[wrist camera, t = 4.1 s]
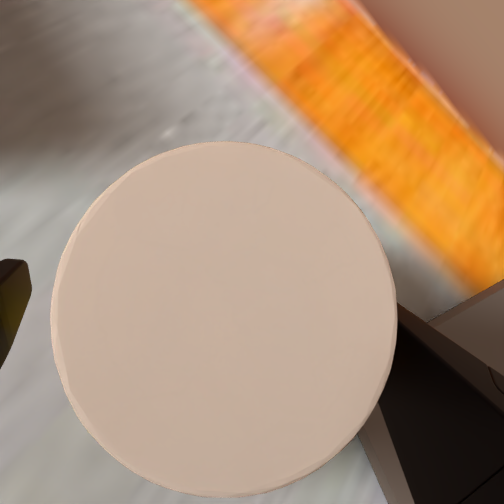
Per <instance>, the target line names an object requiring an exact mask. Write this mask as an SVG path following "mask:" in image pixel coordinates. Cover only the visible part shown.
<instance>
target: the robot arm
mask: <svg viewBox="0 0 504 504" xmlns="http://www.w3.org/2000/svg"><path fill="white" fill-rule="evenodd" d="M31 292H32V285H31V280H30V274H29V269H28V264H27V262H26V261H24V260H19V259H4V260H2V261H0V369H1V367H2V365H3V363H4V361H5V359H6V357H7V355H8V353H9V351H10V349H11V346H12V344H13V342H14V339H15V336H16V334H17V331H18V328H19V326H20V323H21V320H22V318H23V315H24V312H25V310H26V307H27V304H28V302H29V299H30V296H31ZM377 402H378V404H379V407H380V410H381V413H382V415H383V418H384V421H385V424H386V426H387V429H388V432H389V435H390V438H391V440H392V443H393V446H394V449H395V451H396V454H397V457H398V460H399V462H400V465H401V468H402V471H403V473H404V476H405V479H406V482H407V485H408V487H409V490H410V493H411V496H412V498H413V501H414V504H504V376H503V375H502V374H500V373H499V372H497V371H496V370H494V369H493V368H491V367H490V366H487V364H486V363H484V362H483V361H481V360H480V359H478V358H477V357H475V356H474V355H472V354H471V353H469V352H468V351H467V350H465V349H464V348H462V347H461V346H459V345H458V344H456V343H455V342H453V341H452V340H451V339H449V338H448V337H446V336H445V335H443V334H442V333H440V332H439V331H437V330H436V329H435V328H433V327H432V326H430V325H429V324H427V323H426V322H424V321H423V320H421V319H420V318H419V317H417V316H416V315H414V314H413V313H411V312H410V311H408V310H407V309H405V308H404V307H402V306H401V305H400V304H398V303H397V337H396V346H395V351H394V356H393V361H392V366H391V370H390V373H389V376H388V379H387V381H386V384H385V387H384V389H383V391H382V393H381V395H380V397H379V399H378V401H377Z"/></svg>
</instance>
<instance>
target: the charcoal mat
mask: <svg viewBox="0 0 504 504" xmlns="http://www.w3.org/2000/svg"><path fill="white" fill-rule="evenodd" d="M427 324H429V325H430V326H432V327H433V328H435V329H436V330H437V331H439V332H440V333H442V334H443V335H445V336H446V337H448V338H449V339H451V340H452V341H453V342H455V343H456V344H458V345H459V346H461V347H462V348H464V349H465V350H467V351H468V352H469V353H471V354H472V355H474V356H475V357H477V358H478V359H480V360H481V361H483V362H484V363H486V364H487V366H490V367H491V368H493V369H494V370H496V371H497V372H499V373H500V374H502V375H503V376H504V279H503V280H502V281H500V282H498V283H496V284H495V285H493V286H491V287H489V288H488V289H486V290H484V291H482V292H481V293H479V294H477V295H475V296H473V297H472V298H470V299H468V300H466V301H465V302H463V303H461V304H459V305H458V306H456V307H454V308H452V309H451V310H449V311H447V312H445V313H444V314H442V315H440V316H438V317H437V318H435V319H433V320H431V321H429V322H428V323H427ZM357 434H358V436H359V439H360V441H361V443H362V445H363V448H364V450H365V452H366V454H367V457H368V459H369V461H370V463H371V466H372V468H373V470H374V472H375V475H376V477H377V479H378V482H379V484H380V486H381V488H382V491H383V493H384V495H385V497H386V500H387V502H388V504H414V501H413V498H412V496H411V493H410V490H409V487H408V485H407V482H406V479H405V476H404V473H403V471H402V468H401V465H400V462H399V460H398V457H397V454H396V451H395V449H394V446H393V443H392V440H391V438H390V435H389V432H388V429H387V426H386V424H385V421H384V418H383V415H382V413H381V410H380V407H379V404H378V402H377V403H376V405H375V407H374V409H373V411H372V412H371V414H370V416H369V417H368V419H367V420H366V422H365V423H364V425H363V426H362V427H361V429H360V430H359V431H358V433H357Z"/></svg>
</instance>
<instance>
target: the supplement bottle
mask: <svg viewBox="0 0 504 504" xmlns="http://www.w3.org/2000/svg"><path fill="white" fill-rule="evenodd" d="M50 322H51V340H52V346H53V352H54V359H55V364H56V367H57V370H58V373H59V375H60V378H61V381H62V384H63V387H64V390H65V393H66V395H67V397H68V399H69V401H70V403H71V405H72V407H73V409H74V411H75V413H76V415H77V417H78V419H79V420H80V421H81V423H82V424H83V425H84V427H85V428H86V429H87V431H88V432H89V433H90V434H91V435H92V436H93V438H94V439H95V440H96V441H97V442H98V443H99V444H100V445H101V446H102V447H103V448H104V449H105V450H106V451H107V452H108V453H109V454H110V455H111V456H113V457H114V458H115V459H116V460H118V461H119V462H120V463H121V464H123V465H124V466H125V467H126V468H128V469H129V470H130V471H132V472H134V473H136V474H138V475H139V476H141V477H143V478H145V479H146V480H148V481H150V482H152V483H154V484H157V485H160V486H162V487H165V488H168V489H171V490H175V491H178V492H182V493H185V494H190V495H195V496H201V497H245V496H250V495H256V494H262V493H267V492H270V491H273V490H276V489H279V488H282V487H285V486H287V485H289V484H292V483H294V482H296V481H298V480H301V479H303V478H305V477H306V476H308V475H310V474H311V473H313V472H315V471H316V470H318V469H319V468H321V467H322V466H323V465H324V464H326V463H327V462H328V461H329V460H331V459H332V458H333V457H334V456H336V455H337V454H338V453H339V452H340V451H342V450H343V449H344V448H345V447H346V446H347V444H348V443H349V442H350V441H351V440H352V439H353V438H354V437H355V435H356V434H357V433H358V431H359V430H360V429H361V427H362V426H363V425H364V423H365V422H366V420H367V419H368V417H369V416H370V414H371V412H372V411H373V409H374V407H375V405H376V403H377V401H378V399H379V397H380V395H381V393H382V391H383V389H384V387H385V384H386V381H387V379H388V376H389V373H390V370H391V366H392V361H393V356H394V351H395V346H396V337H397V301H396V288H395V284H394V280H393V276H392V273H391V269H390V265H389V262H388V259H387V257H386V254H385V252H384V249H383V247H382V244H381V242H380V240H379V238H378V236H377V235H376V233H375V231H374V229H373V228H372V226H371V224H370V222H369V221H368V219H367V218H366V216H365V215H364V214H363V212H362V211H361V209H360V208H359V207H358V206H357V205H356V203H355V202H354V201H353V200H352V199H351V198H350V197H349V195H348V194H347V193H346V192H344V191H343V190H342V189H341V188H340V187H339V186H338V185H337V184H336V183H335V182H333V181H332V180H331V179H329V178H328V177H327V176H325V175H324V174H323V173H321V172H320V171H318V170H317V169H315V168H314V167H312V166H311V165H309V164H308V163H306V162H304V161H302V160H300V159H298V158H296V157H294V156H292V155H289V154H287V153H284V152H281V151H278V150H276V149H273V148H270V147H265V146H261V145H257V144H251V143H245V142H232V141H221V142H207V143H198V144H192V145H187V146H182V147H179V148H176V149H173V150H170V151H167V152H164V153H162V154H159V155H157V156H154V157H152V158H150V159H148V160H146V161H144V162H142V163H141V164H139V165H137V166H135V167H134V168H132V169H131V170H129V171H128V172H126V173H125V174H124V175H123V176H122V177H120V178H119V179H118V180H117V181H115V182H114V183H113V184H111V185H110V186H109V187H108V188H107V189H106V190H105V191H104V192H103V193H102V194H101V195H100V196H99V197H98V198H97V199H96V200H95V201H94V202H93V203H92V205H91V206H90V207H89V209H88V210H87V212H86V213H85V215H84V216H83V217H82V219H81V220H80V222H79V223H78V225H77V226H76V228H75V230H74V231H73V233H72V235H71V237H70V239H69V241H68V243H67V245H66V247H65V250H64V252H63V254H62V257H61V260H60V263H59V266H58V269H57V274H56V279H55V284H54V289H53V294H52V301H51V311H50Z"/></svg>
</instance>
